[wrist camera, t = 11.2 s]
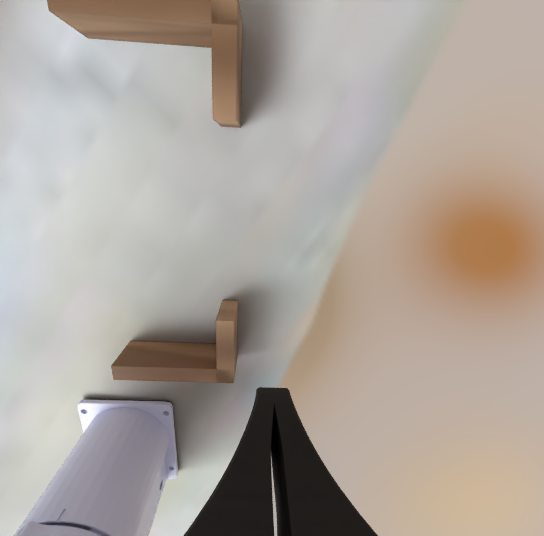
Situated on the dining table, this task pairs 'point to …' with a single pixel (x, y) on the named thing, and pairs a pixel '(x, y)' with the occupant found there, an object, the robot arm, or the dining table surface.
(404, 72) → the dining table surface
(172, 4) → the frame
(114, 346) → the dining table surface
